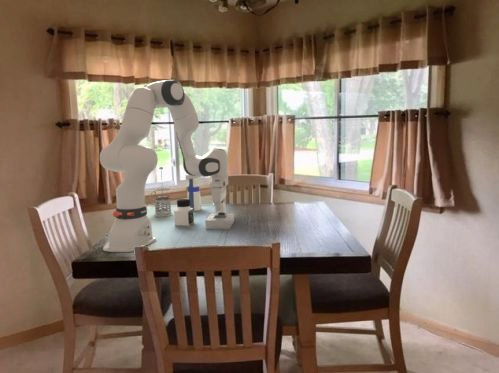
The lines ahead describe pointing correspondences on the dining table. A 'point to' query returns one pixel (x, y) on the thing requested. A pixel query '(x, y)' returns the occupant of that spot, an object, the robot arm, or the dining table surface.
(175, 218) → the medicine bottle
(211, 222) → the socket
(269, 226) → the dining table surface
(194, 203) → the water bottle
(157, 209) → the french press
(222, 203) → the plug
